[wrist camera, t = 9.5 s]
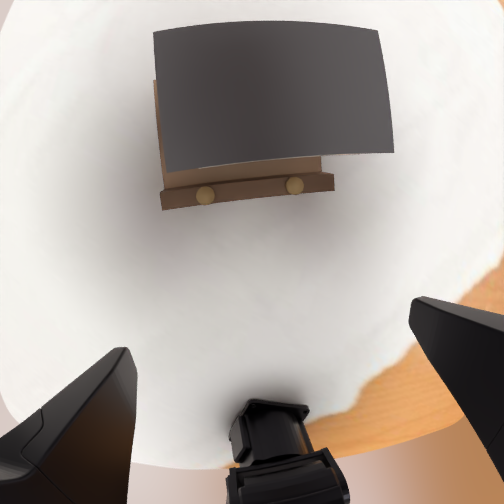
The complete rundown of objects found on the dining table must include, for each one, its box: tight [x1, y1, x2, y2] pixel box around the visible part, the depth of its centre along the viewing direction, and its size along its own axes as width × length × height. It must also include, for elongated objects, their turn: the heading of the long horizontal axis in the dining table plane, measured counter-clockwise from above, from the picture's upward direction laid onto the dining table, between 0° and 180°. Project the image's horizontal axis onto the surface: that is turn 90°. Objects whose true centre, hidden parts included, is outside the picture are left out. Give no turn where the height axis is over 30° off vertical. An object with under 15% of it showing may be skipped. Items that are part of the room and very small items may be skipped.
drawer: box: [153, 80, 335, 210], centre depth 17 cm, size 8×10×4 cm
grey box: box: [153, 21, 394, 173], centre depth 12 cm, size 4×6×11 cm, turn 96°
